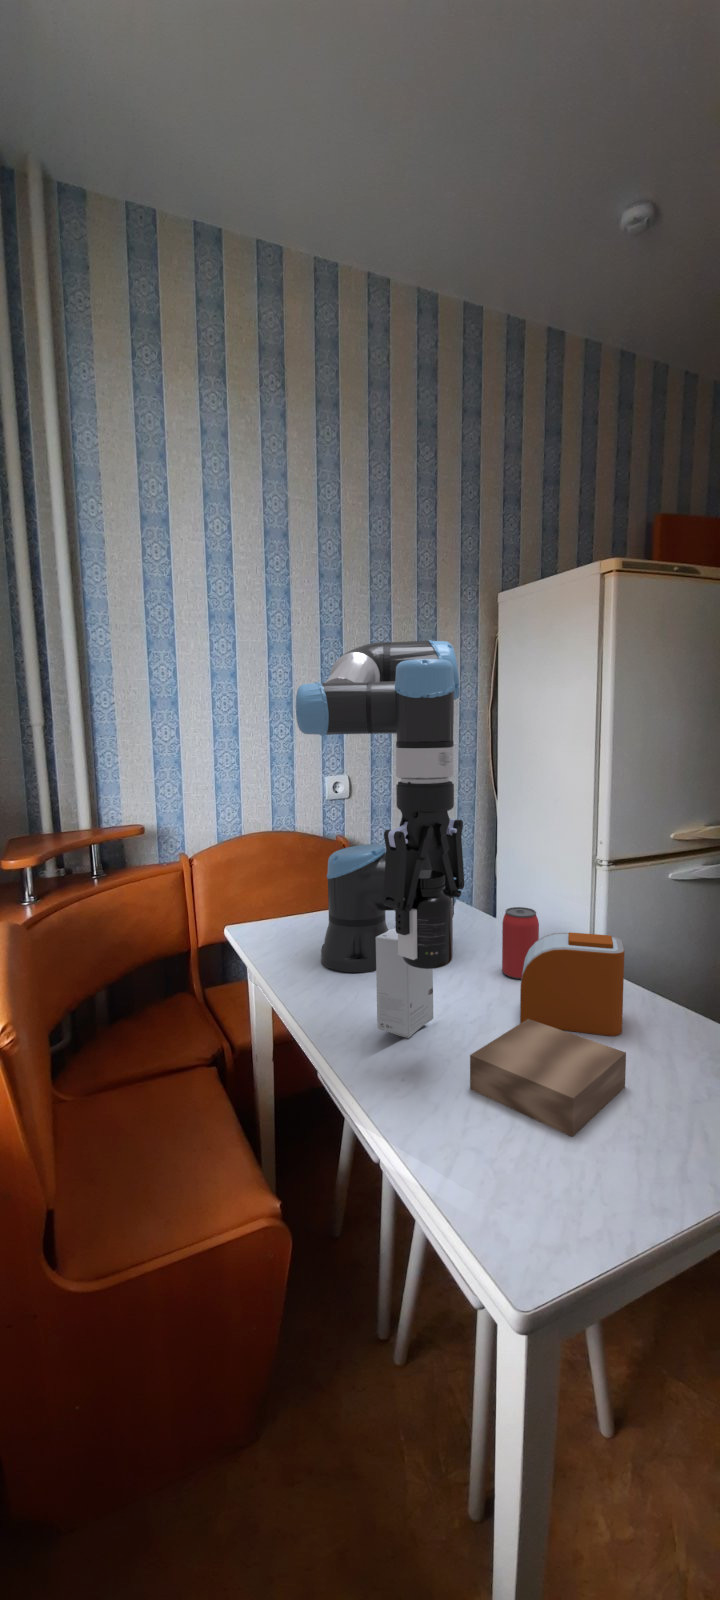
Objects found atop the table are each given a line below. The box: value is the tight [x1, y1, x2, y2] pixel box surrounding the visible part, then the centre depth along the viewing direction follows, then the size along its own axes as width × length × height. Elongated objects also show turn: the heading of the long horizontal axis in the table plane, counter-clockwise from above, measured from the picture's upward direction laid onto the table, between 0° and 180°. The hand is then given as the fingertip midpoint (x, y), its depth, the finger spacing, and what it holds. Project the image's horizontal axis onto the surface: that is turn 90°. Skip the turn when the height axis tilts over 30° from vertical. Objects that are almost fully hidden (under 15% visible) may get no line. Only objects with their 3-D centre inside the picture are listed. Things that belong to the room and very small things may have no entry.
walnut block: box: [469, 1019, 627, 1138], centre depth 82 cm, size 14×14×5 cm
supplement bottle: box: [403, 870, 454, 970], centre depth 87 cm, size 7×7×12 cm
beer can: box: [501, 906, 540, 980], centre depth 120 cm, size 7×7×12 cm
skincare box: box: [375, 927, 434, 1039], centre depth 100 cm, size 8×6×15 cm
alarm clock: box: [519, 931, 625, 1037], centre depth 101 cm, size 15×8×14 cm, turn 72°
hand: (425, 949), depth 87 cm, fingers closed on supplement bottle, 7 cm apart
